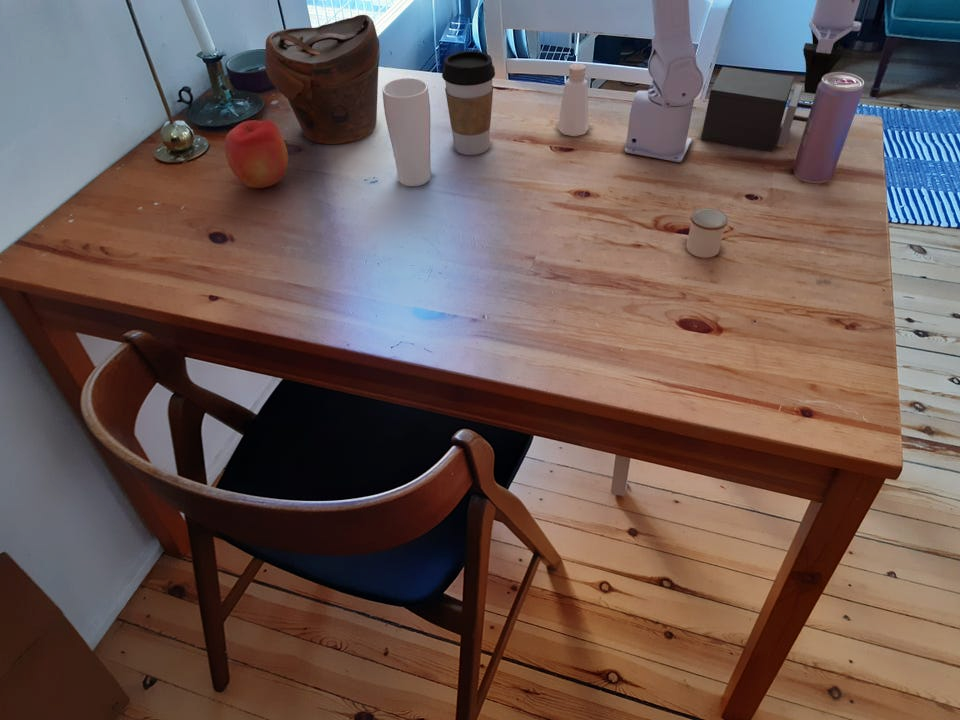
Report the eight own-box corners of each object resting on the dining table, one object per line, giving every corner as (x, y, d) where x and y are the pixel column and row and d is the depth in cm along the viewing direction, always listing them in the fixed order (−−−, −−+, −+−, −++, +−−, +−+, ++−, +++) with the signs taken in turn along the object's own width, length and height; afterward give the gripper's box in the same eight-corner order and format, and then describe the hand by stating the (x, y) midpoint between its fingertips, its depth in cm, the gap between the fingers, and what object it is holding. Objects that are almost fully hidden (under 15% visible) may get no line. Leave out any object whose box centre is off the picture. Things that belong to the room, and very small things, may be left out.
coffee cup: (438, 154, 119) (431, 64, 108) (458, 131, 125) (453, 44, 114) (485, 162, 117) (482, 71, 106) (503, 138, 122) (502, 50, 112)
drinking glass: (443, 173, 115) (436, 81, 104) (423, 194, 110) (414, 100, 100) (406, 165, 117) (396, 74, 106) (385, 185, 112) (372, 93, 102)
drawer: (822, 129, 119) (835, 89, 115) (816, 152, 114) (830, 111, 109) (728, 114, 124) (737, 75, 119) (719, 135, 119) (728, 96, 114)
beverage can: (834, 186, 108) (869, 90, 98) (793, 183, 109) (823, 87, 99) (828, 166, 112) (862, 72, 102) (789, 163, 113) (818, 70, 103)
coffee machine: (780, 125, 122) (794, 76, 116) (772, 151, 116) (786, 101, 110) (712, 115, 126) (722, 66, 120) (700, 139, 120) (710, 89, 114)
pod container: (681, 254, 97) (687, 223, 94) (689, 235, 100) (695, 204, 97) (716, 262, 96) (724, 231, 92) (723, 242, 99) (731, 212, 95)
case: (261, 136, 126) (233, 31, 113) (345, 96, 136) (329, -4, 123) (327, 167, 117) (305, 58, 104) (412, 122, 127) (401, 17, 115)
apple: (300, 167, 117) (287, 109, 110) (288, 199, 111) (273, 139, 103) (243, 168, 118) (226, 111, 111) (227, 200, 111) (208, 140, 104)
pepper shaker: (590, 136, 122) (595, 72, 114) (558, 136, 122) (561, 73, 114) (587, 121, 126) (592, 58, 118) (556, 122, 126) (559, 59, 118)
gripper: (868, 9, 97) (837, 105, 106) (874, -24, 106) (845, 67, 115) (813, 4, 99) (787, 98, 108) (824, -28, 108) (800, 61, 118)
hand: (814, 82), depth 112 cm, fingers open, 7 cm apart
